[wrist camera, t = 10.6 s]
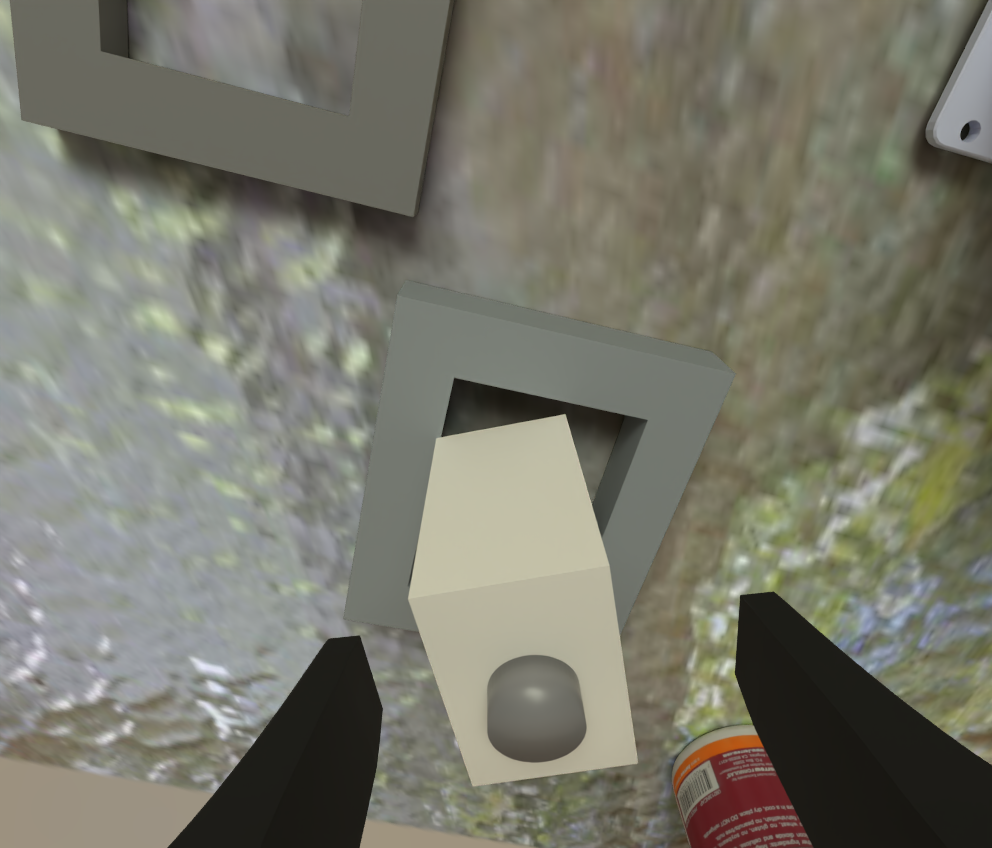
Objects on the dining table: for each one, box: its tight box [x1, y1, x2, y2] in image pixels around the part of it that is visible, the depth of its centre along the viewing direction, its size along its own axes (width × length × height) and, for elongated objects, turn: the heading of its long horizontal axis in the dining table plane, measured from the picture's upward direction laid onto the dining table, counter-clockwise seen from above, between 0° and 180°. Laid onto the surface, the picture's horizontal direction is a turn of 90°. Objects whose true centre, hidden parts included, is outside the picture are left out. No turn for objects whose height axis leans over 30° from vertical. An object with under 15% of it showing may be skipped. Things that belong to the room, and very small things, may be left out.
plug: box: [408, 414, 638, 786], centre depth 15 cm, size 4×6×8 cm, turn 11°
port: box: [343, 280, 736, 635], centre depth 20 cm, size 10×12×3 cm
